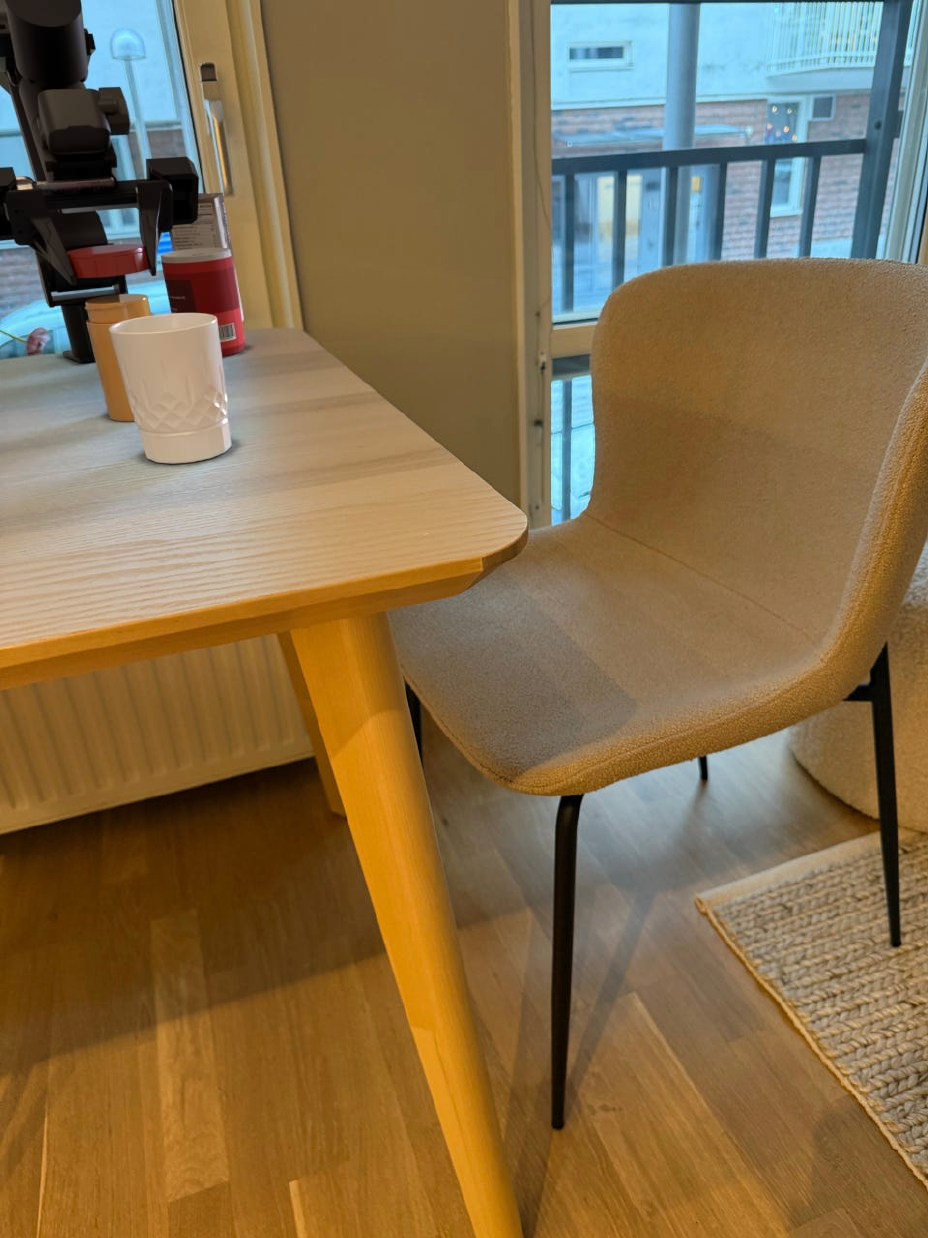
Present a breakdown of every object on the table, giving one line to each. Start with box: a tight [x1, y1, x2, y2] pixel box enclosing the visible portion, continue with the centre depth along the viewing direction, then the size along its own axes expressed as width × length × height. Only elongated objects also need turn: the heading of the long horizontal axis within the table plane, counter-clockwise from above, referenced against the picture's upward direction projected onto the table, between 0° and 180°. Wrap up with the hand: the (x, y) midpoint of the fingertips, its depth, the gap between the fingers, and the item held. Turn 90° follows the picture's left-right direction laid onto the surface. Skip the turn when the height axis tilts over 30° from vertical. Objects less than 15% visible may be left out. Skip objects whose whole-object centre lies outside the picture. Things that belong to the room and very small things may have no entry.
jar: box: [85, 293, 155, 422], centre depth 81 cm, size 6×6×10 cm
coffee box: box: [168, 192, 245, 323], centre depth 115 cm, size 9×6×16 cm
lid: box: [67, 243, 149, 278], centre depth 77 cm, size 6×6×2 cm
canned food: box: [160, 248, 246, 358], centre depth 103 cm, size 8×8×11 cm
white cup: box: [109, 313, 232, 464], centre depth 70 cm, size 8×8×10 cm
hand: (114, 276), depth 76 cm, fingers closed on lid, 6 cm apart
